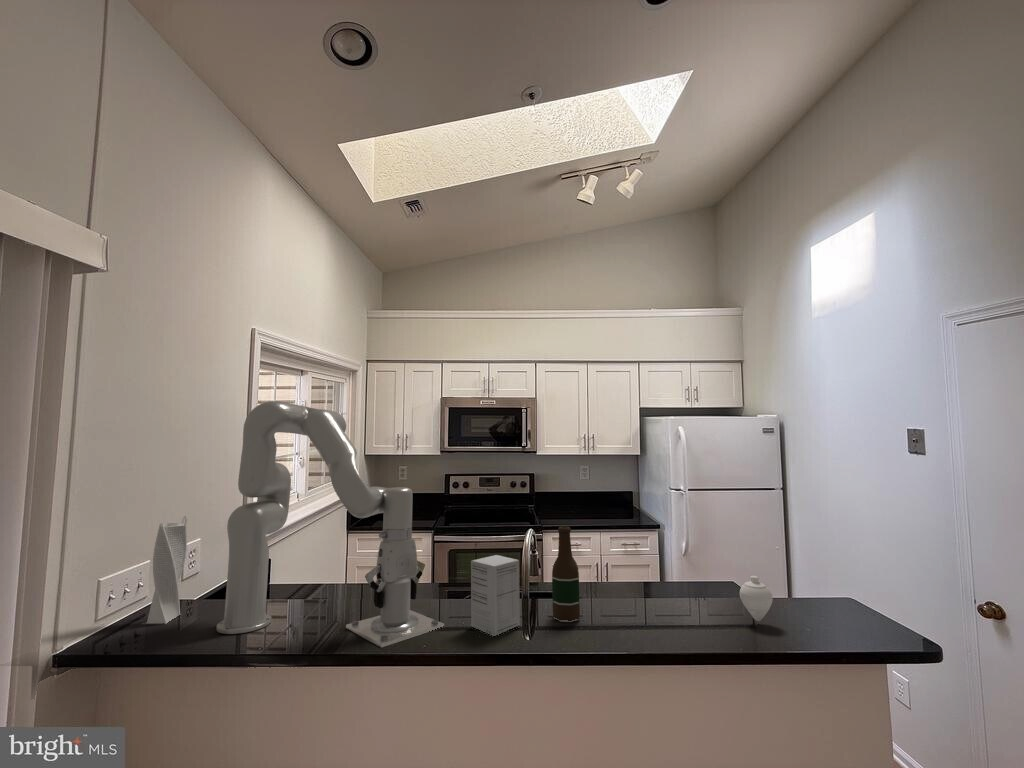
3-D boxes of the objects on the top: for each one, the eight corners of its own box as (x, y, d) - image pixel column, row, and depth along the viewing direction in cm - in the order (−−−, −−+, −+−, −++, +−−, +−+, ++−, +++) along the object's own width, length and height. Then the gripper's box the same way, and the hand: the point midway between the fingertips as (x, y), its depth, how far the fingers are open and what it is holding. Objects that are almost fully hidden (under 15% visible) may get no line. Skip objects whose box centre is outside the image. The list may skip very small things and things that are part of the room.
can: (414, 617, 124) (415, 570, 126) (402, 627, 117) (403, 577, 119) (388, 616, 125) (389, 569, 127) (374, 625, 118) (376, 576, 120)
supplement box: (497, 618, 127) (496, 554, 129) (521, 627, 120) (520, 559, 123) (469, 628, 120) (470, 559, 123) (493, 637, 114) (493, 565, 116)
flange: (345, 627, 121) (346, 621, 121) (406, 611, 134) (406, 605, 134) (381, 647, 108) (381, 640, 109) (443, 627, 121) (444, 620, 121)
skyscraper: (190, 616, 132) (198, 514, 136) (168, 626, 124) (178, 518, 128) (160, 616, 132) (170, 514, 136) (137, 626, 124) (148, 518, 128)
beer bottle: (585, 616, 128) (582, 526, 131) (573, 625, 121) (570, 530, 125) (560, 611, 132) (558, 524, 136) (547, 620, 125) (545, 527, 129)
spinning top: (768, 633, 115) (763, 582, 117) (736, 624, 121) (733, 576, 123) (779, 625, 120) (775, 576, 122) (749, 617, 126) (745, 571, 128)
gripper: (374, 541, 116) (372, 614, 113) (432, 532, 128) (431, 598, 125) (360, 537, 121) (357, 607, 119) (417, 529, 133) (415, 592, 131)
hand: (395, 602), depth 122 cm, fingers open, 9 cm apart
